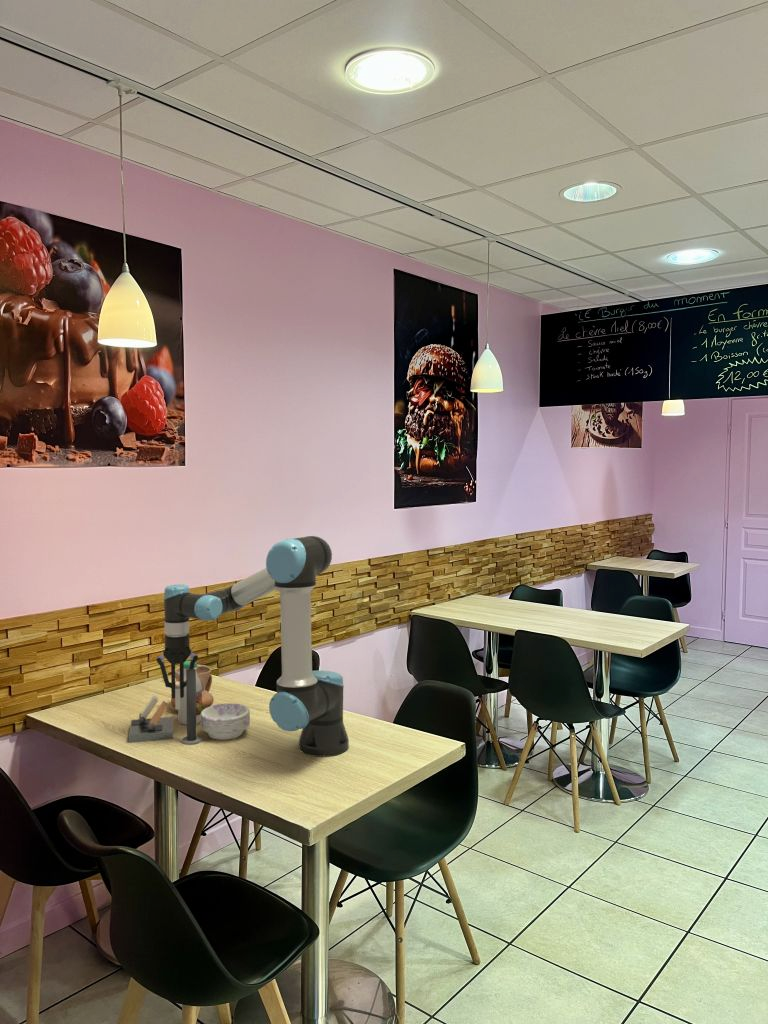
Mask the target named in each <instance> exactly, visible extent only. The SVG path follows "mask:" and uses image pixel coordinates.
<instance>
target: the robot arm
mask: <svg viewBox="0 0 768 1024" xmlns="http://www.w3.org/2000/svg"><path fill="white" fill-rule="evenodd" d="M266 555H267V556H266V561H265V566H266V567H265V568H263V569H261V570H259V571H257V572H256V573H253V574H251V575H249V576H248V577H245V578H243V579H241V580H239V581H238V582H236V583H234V584H232V585H230V586H227V587H226V588H224V589H219V590H216V591H211V592H205V593H192V592H190V591H191V590H190V587H189V586H188V584H171V585H167V586H166V587H165V588H164V593H163V594H164V596H163V603H164V604H163V605H164V606H163V607H164V610H163V611H164V634H165V635H164V650H163V652H162V654H161V655H157V656H156V660H155V661H156V663H157V664H158V665H159V668H160V672H161V675H162V679H163V682H164V685H165V687H166V688H169V689H171V694H170V696H171V698H172V699H173V698H175V708H174V709H175V710H176V709H180V698H183V697H184V687H185V686H186V681H185V682H184V662H185V661H188V659H189V661H191V662H190V666H189V669H193V668H194V664H195V662H197V661H198V659H199V655H198V654H197V653H194V652H192V650H191V647H190V645H191V644H190V634H189V633H190V619H195V620H196V619H197V620H201V621H215V620H217V619H218V618H219V617H220V616H221V615H223V614H227V613H231V612H237V611H239V610H242V609H244V607H245V606H246V605H248V604H250V603H251V602H254V601H256V600H258V599H260V598H262V597H264V596H266V595H269V594H271V593H273V592H274V591H278V592H279V594H280V595H279V597H280V598H279V599H280V600H279V602H280V603H279V604H280V642H281V643H280V644H281V648H280V649H281V651H280V652H281V676H280V677H279V678H278V679H277V680H276V693H274V695H273V696H272V697H271V699H270V701H269V705H268V710H269V715H270V717H271V719H272V721H273V722H274V723H275V724H276V725H277V726H278V728H280V729H281V730H283V731H287V732H296V731H299V730H301V733H300V735H299V739H298V750H299V751H300V752H301V753H303V754H306V755H308V756H313V757H330V756H331V757H332V756H335V755H336V756H337V755H340V754H342V753H344V752H346V751H348V750H349V748H350V747H349V746H350V745H349V743H350V739H349V735H348V733H347V730H346V727H345V723H344V687H345V685H344V679H343V677H344V676H342V674H341V673H339V672H336V671H330V670H321V669H320V670H313V660H312V659H313V657H312V656H313V649H312V648H313V646H312V603H311V602H312V601H311V600H312V599H311V598H312V597H311V595H312V593H311V592H312V590H314V588H315V587H316V586H317V583H316V582H317V581H316V580H317V579H316V576H318V575H321V574H322V573H324V572H325V571H326V570H327V569H329V567H330V565H331V563H332V559H333V553H332V548H331V546H330V545H329V543H328V542H327V541H326V540H325V539H323V538H321V537H319V536H316V535H310V536H302V537H301V536H300V537H294V538H292V537H291V538H286V539H283V540H280V541H278V542H276V543H275V544H273V546H272V547H271V548H270V549H269V550H268V553H267V554H266ZM165 659H166V660H167V661H168V663H169V664H171V665H170V668H171V669H170V670H171V671H170V673H171V674H170V678H171V679H170V680H169V675H168V673H167V669H166V666H165ZM176 665H179V667H180V686H177V687H175V682H176V678H175V669H176ZM170 681H171V682H170Z"/></svg>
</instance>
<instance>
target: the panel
mask: <svg viewBox="0 0 768 1024" xmlns="http://www.w3.org/2000/svg"><path fill="white" fill-rule="evenodd" d="M151 718H152V717H151ZM151 718H146V719H145V722H144V723H140V722H139V718H138V719H131V721H130V726H129V727H130V728H129V733H128V741H129V742H128V743H140V742H152V741H153V742H154V741H164V740H166V741H167V740H173V739H174V716H164V717H162V716H161V718H160V719H159V721H158V722H157V724H156V725H155V728H154V729H153V730H149V729H148V721H149V720H150V719H151Z"/></svg>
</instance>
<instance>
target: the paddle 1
mask: <svg viewBox="0 0 768 1024" xmlns="http://www.w3.org/2000/svg"><path fill="white" fill-rule="evenodd" d="M158 702H159V696H157V695H155V694H153V695H152V697H151V698H150V700H149V701H148V703H147V705H146V706H145V707H144V709H143V711H142V712H141V713H139V716H138V719H139V722H140V723H144V722H145V719H148V716H149V715H150V714H151V712H152V711H153V709H154V708H155V706H156V705H157V704H158Z"/></svg>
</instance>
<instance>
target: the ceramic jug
mask: <svg viewBox="0 0 768 1024" xmlns="http://www.w3.org/2000/svg"><path fill="white" fill-rule="evenodd" d="M196 672H197V675H198V677H199V679H200V682H201V686H202V711H203V710H204V709H205V708H207V707H210V706H213V703H214V701H215V699H214V696H213V694H212V693H210V690H211V686H212V682H213V675H212V674H211V672H212V668H211V667H210V666H208V665H205V664H197V669H196ZM179 682H180V666H178V667H175V687H177V686H179ZM170 705H171V706H172V708H173V709H175V698H173V699H172V697H171V699H170ZM175 710H176V711H178V709H175Z"/></svg>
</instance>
